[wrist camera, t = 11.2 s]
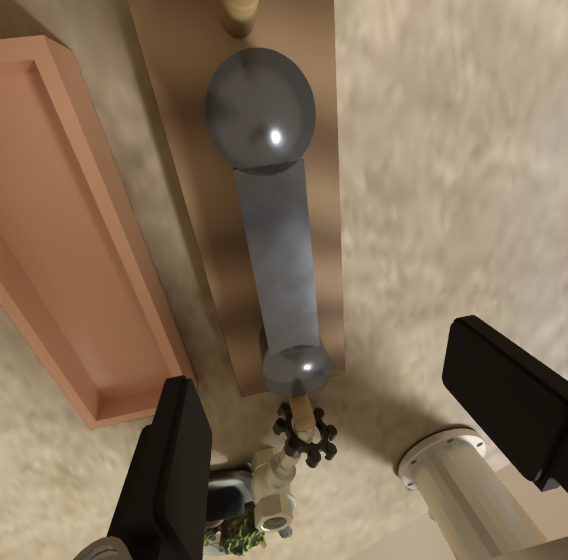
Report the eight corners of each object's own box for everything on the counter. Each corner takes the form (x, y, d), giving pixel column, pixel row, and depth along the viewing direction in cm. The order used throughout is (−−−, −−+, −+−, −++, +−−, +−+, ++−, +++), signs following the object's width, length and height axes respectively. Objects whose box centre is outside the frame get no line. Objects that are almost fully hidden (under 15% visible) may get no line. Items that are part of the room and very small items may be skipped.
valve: (285, 468, 35) (327, 402, 31) (296, 534, 29) (349, 464, 25) (234, 465, 33) (271, 393, 29) (235, 535, 27) (282, 458, 23)
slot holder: (198, 382, 26) (195, 405, 24) (102, 403, 25) (90, 429, 23) (72, 51, 15) (43, 34, 12) (-111, 70, 14) (-178, 57, 12)
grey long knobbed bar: (318, 353, 25) (333, 388, 22) (263, 365, 25) (269, 403, 21) (292, 63, 15) (311, 40, 12) (200, 74, 15) (190, 54, 11)
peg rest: (339, 362, 28) (367, 419, 22) (240, 384, 27) (243, 450, 21) (323, -12, 15) (380, -103, 9) (134, 5, 14) (70, -83, 9)
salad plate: (329, 492, 40) (340, 532, 36) (242, 551, 43) (243, 593, 39) (226, 445, 32) (225, 490, 27) (129, 523, 35) (115, 573, 31)
